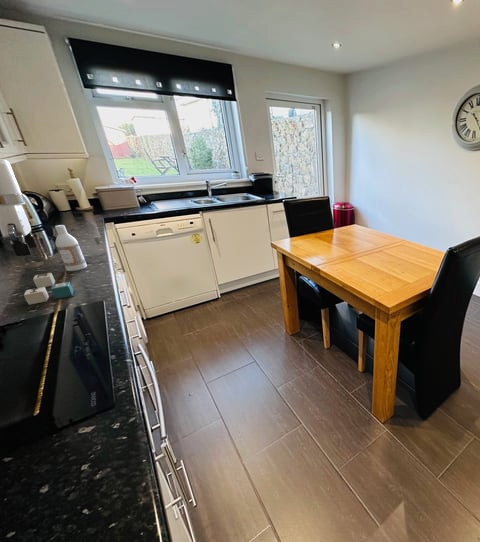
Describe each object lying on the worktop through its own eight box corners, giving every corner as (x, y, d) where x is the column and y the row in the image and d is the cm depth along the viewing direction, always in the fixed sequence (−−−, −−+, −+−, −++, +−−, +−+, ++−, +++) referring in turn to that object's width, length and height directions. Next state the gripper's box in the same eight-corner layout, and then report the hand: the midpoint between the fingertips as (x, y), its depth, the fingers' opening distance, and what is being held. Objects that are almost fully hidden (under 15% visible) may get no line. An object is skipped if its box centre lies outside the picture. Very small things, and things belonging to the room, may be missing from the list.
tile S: (55, 298, 102) (50, 288, 100) (57, 294, 105) (52, 284, 104) (72, 295, 105) (68, 285, 103) (73, 291, 108) (69, 281, 106)
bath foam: (62, 272, 124) (43, 228, 116) (73, 266, 130) (55, 224, 122) (81, 271, 125) (63, 227, 118) (90, 265, 132) (74, 223, 124)
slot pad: (51, 301, 101) (51, 300, 101) (54, 294, 105) (53, 294, 105) (74, 296, 105) (74, 295, 105) (76, 290, 109) (75, 289, 109)
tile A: (37, 288, 110) (32, 278, 108) (39, 284, 113) (35, 274, 111) (53, 285, 112) (49, 276, 111) (55, 281, 115) (51, 272, 114)
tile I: (28, 305, 98) (23, 294, 97) (31, 299, 101) (26, 289, 100) (47, 301, 101) (42, 291, 99) (49, 296, 104) (44, 286, 102)
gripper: (-5, 197, 92) (17, 246, 99) (-23, 204, 80) (3, 260, 86) (29, 196, 97) (47, 243, 103) (17, 203, 85) (38, 256, 91)
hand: (27, 251), depth 95 cm, fingers open, 9 cm apart
